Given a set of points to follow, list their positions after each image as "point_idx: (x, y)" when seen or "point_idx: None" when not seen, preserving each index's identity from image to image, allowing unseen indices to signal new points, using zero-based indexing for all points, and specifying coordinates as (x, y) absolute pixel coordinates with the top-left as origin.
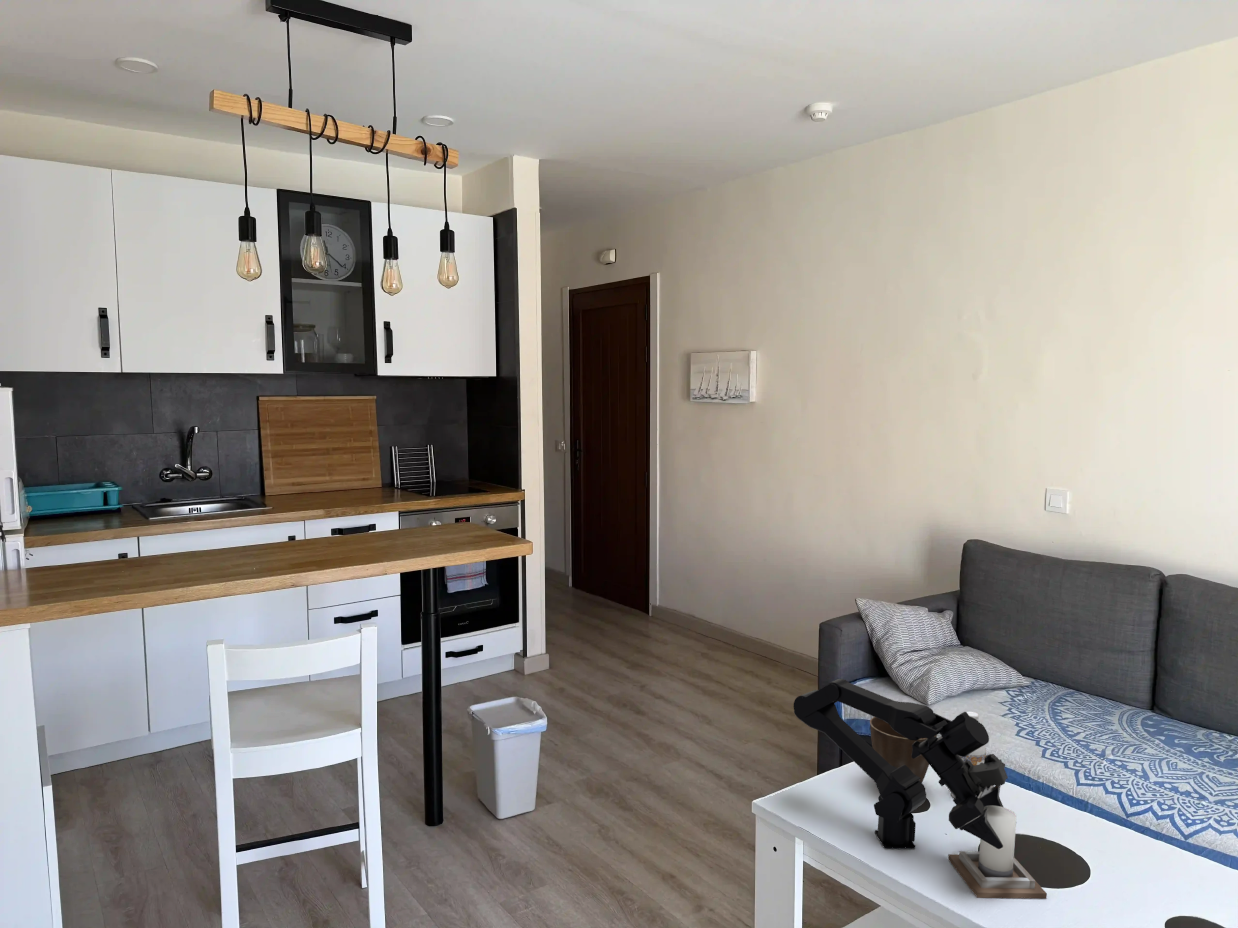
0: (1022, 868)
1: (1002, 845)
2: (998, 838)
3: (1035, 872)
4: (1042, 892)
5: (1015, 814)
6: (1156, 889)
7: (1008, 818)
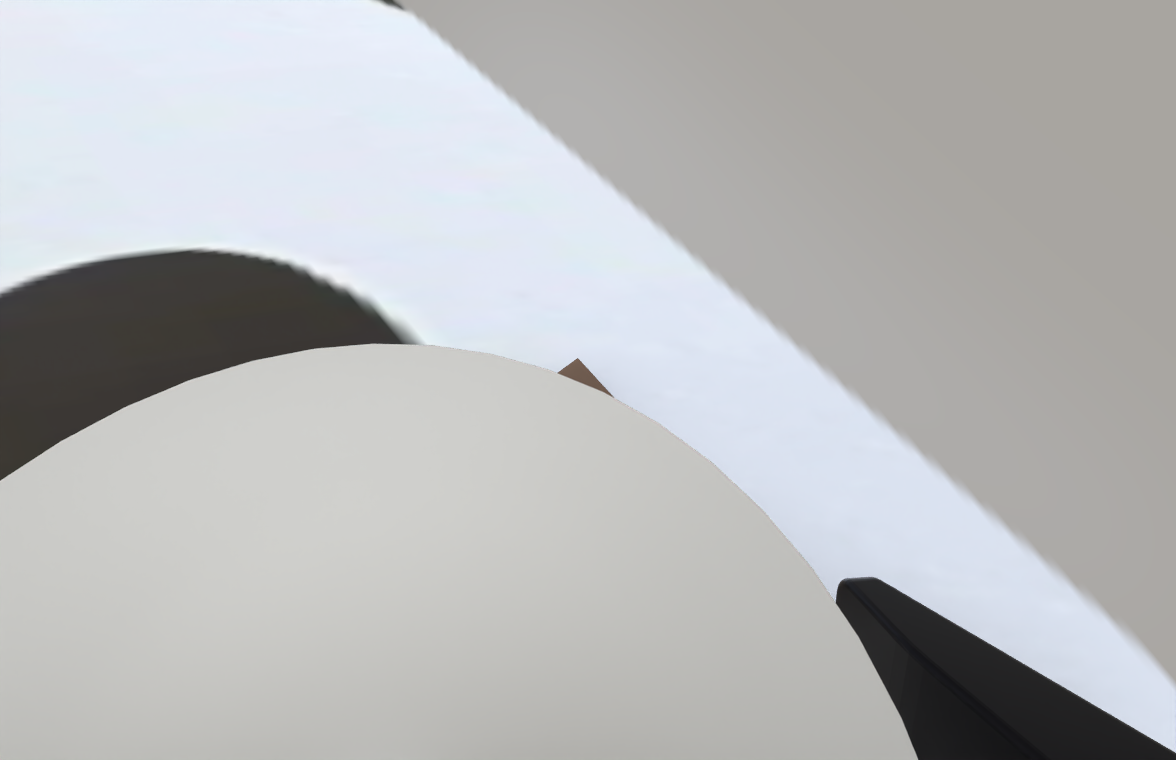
0: None
1: (878, 581)
2: (945, 653)
3: None
4: (585, 379)
5: (143, 408)
6: (186, 51)
7: (540, 511)
